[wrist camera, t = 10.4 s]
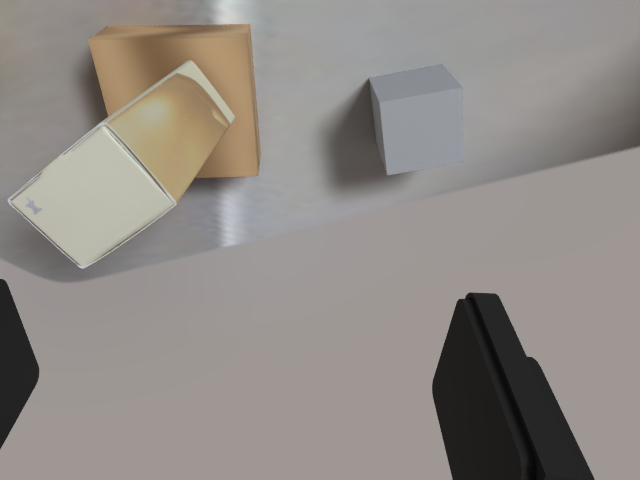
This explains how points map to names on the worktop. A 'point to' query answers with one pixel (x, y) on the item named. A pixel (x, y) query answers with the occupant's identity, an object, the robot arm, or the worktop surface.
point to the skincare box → (127, 167)
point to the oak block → (167, 55)
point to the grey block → (418, 119)
